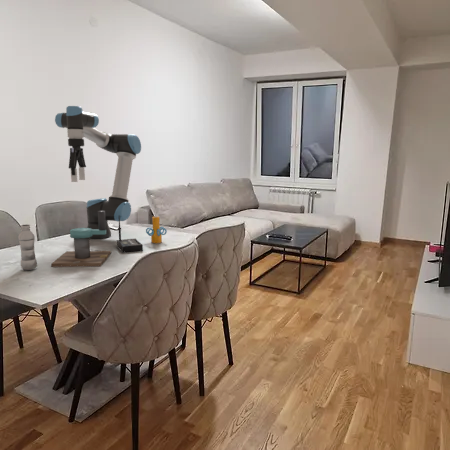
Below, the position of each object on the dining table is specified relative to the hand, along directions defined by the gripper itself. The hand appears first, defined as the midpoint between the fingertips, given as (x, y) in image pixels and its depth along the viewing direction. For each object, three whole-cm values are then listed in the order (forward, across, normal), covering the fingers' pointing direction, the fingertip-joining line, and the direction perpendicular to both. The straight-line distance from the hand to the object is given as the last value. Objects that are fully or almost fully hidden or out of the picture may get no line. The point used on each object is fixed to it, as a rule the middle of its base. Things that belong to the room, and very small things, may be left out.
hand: (78, 180), depth 199 cm
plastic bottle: (+37, -33, +14) cm, 51 cm away
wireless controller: (+37, +5, -23) cm, 44 cm away
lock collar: (+25, -18, -8) cm, 32 cm away
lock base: (+37, -18, -5) cm, 41 cm away
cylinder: (+37, +18, -37) cm, 55 cm away
